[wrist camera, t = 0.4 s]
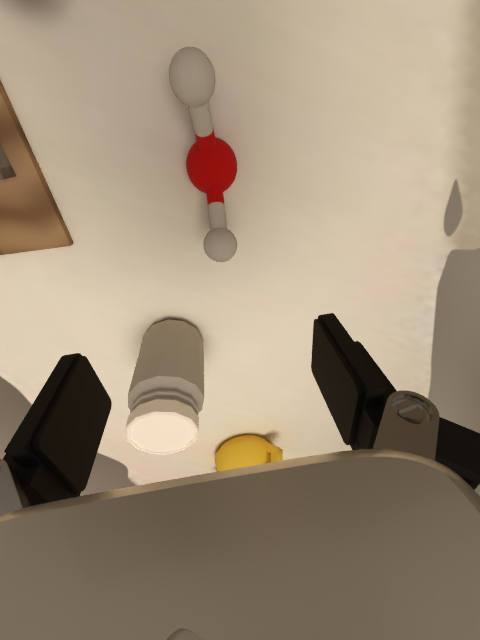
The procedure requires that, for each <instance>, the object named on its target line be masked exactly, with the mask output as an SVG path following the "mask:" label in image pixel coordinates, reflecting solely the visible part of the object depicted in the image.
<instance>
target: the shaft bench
mask: <svg viewBox="0 0 480 640" xmlns="http://www.w3.org/2000/svg"><path fill="white" fill-rule="evenodd" d="M72 244H73V241H72V239H71V236H70V234H69V232H68V230H67V227H66V225H65V223H64V221H63V219H62V216H61V214H60V212H59V210H58V207H57V205H56V203H55V201H54V199H53V196H52V194H51V192H50V190H49V187H48V185H47V183H46V181H45V179H44V176H43V174H42V172H41V170H40V167H39V165H38V163H37V161H36V159H35V156H34V154H33V152H32V150H31V147H30V145H29V143H28V141H27V139H26V136H25V134H24V132H23V130H22V127H21V125H20V123H19V121H18V119H17V116H16V114H15V112H14V110H13V107H12V105H11V103H10V101H9V99H8V96H7V94H6V92H5V90H4V88H3V85H2V83H1V81H0V255H4V254H12V253H19V252H27V251H35V250H42V249H50V248H57V247H65V246H71V245H72Z"/></svg>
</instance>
